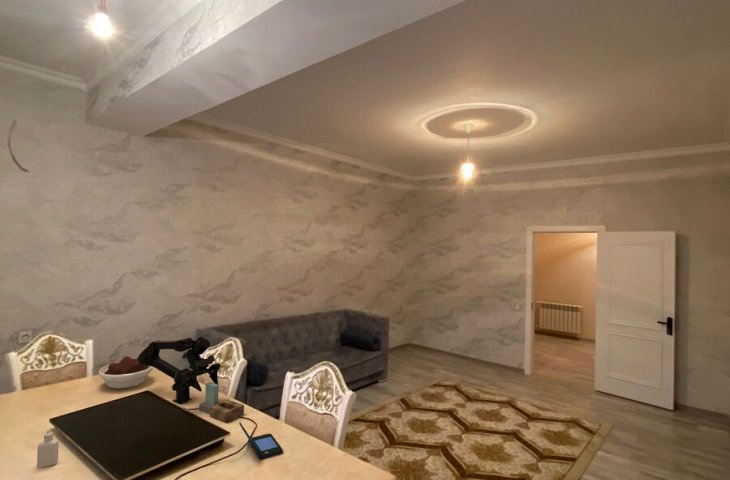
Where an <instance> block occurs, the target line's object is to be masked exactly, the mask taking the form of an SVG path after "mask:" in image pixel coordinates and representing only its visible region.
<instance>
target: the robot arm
mask: <svg viewBox="0 0 730 480" xmlns="http://www.w3.org/2000/svg"><path fill="white" fill-rule="evenodd" d="M210 347H211V341H210V340H209V339H207V338H204V337H203V336H199V337H197V339H196V340H194V339H193V338H192V337H184V338H181V339H178V340H177V339H176V340H155V341H152V342H150V343H149V345H148V346H146V347H145V348H144V349H143V350H142V351H141V352H140V353H139V355H138V357H137V358H138V361H139V363H140V364H142V365H145V366H153V369H156V370H157V371H159V372H161V373H163V374H165V376H168V377H170V378H172V379H173V382H174V384H173V385H171V389H172V391H174V392H175V399H173V400H172V402H174V403H176V404H178V405H182V404H185V403H188V402H190V401H192V400H193V398H191V392H190V391H191V387H192V388H193V389H195V390H197V392H203V389H202V387H201V385H200V383H199V381H198V377H199V376H202V375H205V374H208V375H209V376H208V377H209V378H210V379H211V381H212V383H214V384H217V385H219V377H218V373H219V370H220V369H221V367H222V365H221V363H219V362H215V361H216V358H215V356H214V355H213V354H211V355H208V356H207V358H204V357H201V355H203V354H204V353H205V352H206V351H207V350H208V349H209V348H210ZM161 350H174V351H175V352H179V353H183V354H182V357H181V358H182V359H184V360H185V359H186V360H187V362H188V364H189V366H188V368H187V367H185V368H183V369H180V368H178V367H176V366H174V365H173V364H172V363H169V362H167V361H166V360H164V359H162V358H161V357H160V356H161V355H160V352H161ZM185 351H186V352H185ZM214 362H215V363H214Z"/></svg>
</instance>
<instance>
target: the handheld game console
mask: <svg viewBox="0 0 730 480" xmlns="http://www.w3.org/2000/svg"><path fill="white" fill-rule="evenodd" d="M238 424H239V426H240V427H241V429H242V431H243V432H244V434H245V436H246V437H247V439H248V443H249V444H250V446H251V447H252V448H253V450H254V451H255V452H254V453H255V454H256V455H257V458H258V459H259V460H263V459H266V458H270V457H274V456H278V455H280V454H282V453H283V452H284V451H283V450H284V449H283V448H282V447H281V444H279V442H278V441H277V439H276V438H275V437H274V435H273V434H272V433H265V434H261V435H257V436H251V435H249V433H248V431H247V430H246V429H245V427H244V426H243V424H242V423H241V421H239V422H238Z"/></svg>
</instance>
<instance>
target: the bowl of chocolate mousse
mask: <svg viewBox="0 0 730 480" xmlns="http://www.w3.org/2000/svg"><path fill="white" fill-rule="evenodd" d="M153 369H154V367H153V366H145V365H142V364H140V363H139V361H138V357H137V358H132V357H130V356H128V355H127V356H124V357H122V358H121V360H120V361H118V362H113V363H110V364H107V365H105V366H103V367H102V368H100V369H99V371H98V375H99V378H101V380H103V381H104V383H105V385H106V386H107V387H108V388H112V389H127V388H133V387H136V386H139V385H141V384H142V383H144V382H145V381H146V379H147V377H148V376H149V375H150V374H151V372H152V371H153Z"/></svg>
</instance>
